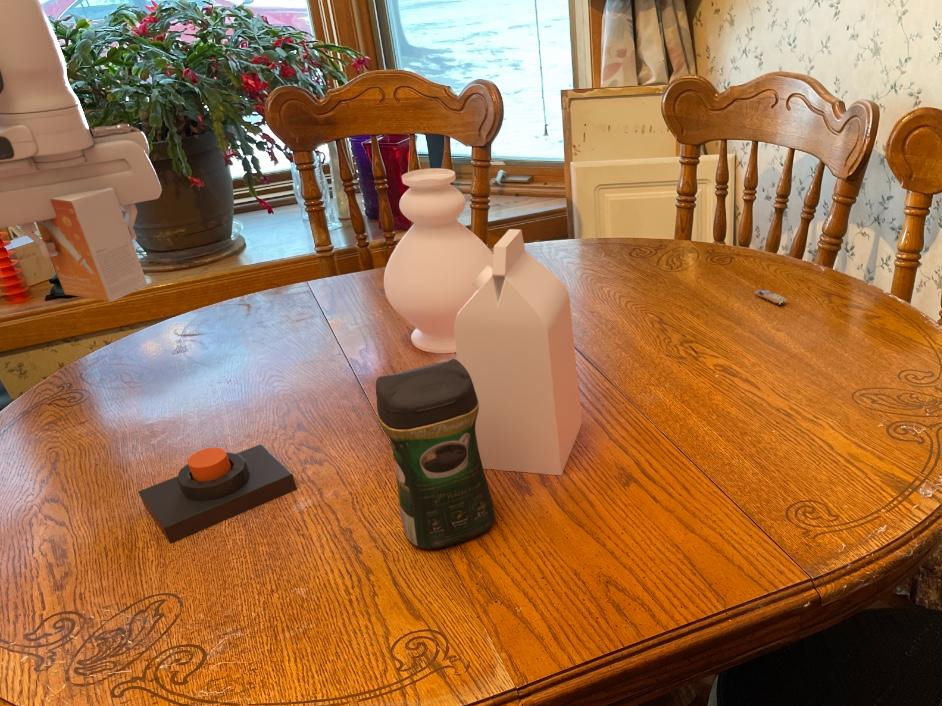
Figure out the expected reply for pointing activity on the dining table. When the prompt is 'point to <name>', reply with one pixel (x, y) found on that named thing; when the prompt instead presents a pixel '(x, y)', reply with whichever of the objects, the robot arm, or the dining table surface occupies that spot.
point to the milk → (521, 362)
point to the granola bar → (771, 295)
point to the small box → (93, 246)
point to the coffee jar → (436, 453)
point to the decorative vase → (434, 260)
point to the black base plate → (216, 493)
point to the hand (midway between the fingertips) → (91, 247)
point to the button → (209, 464)
